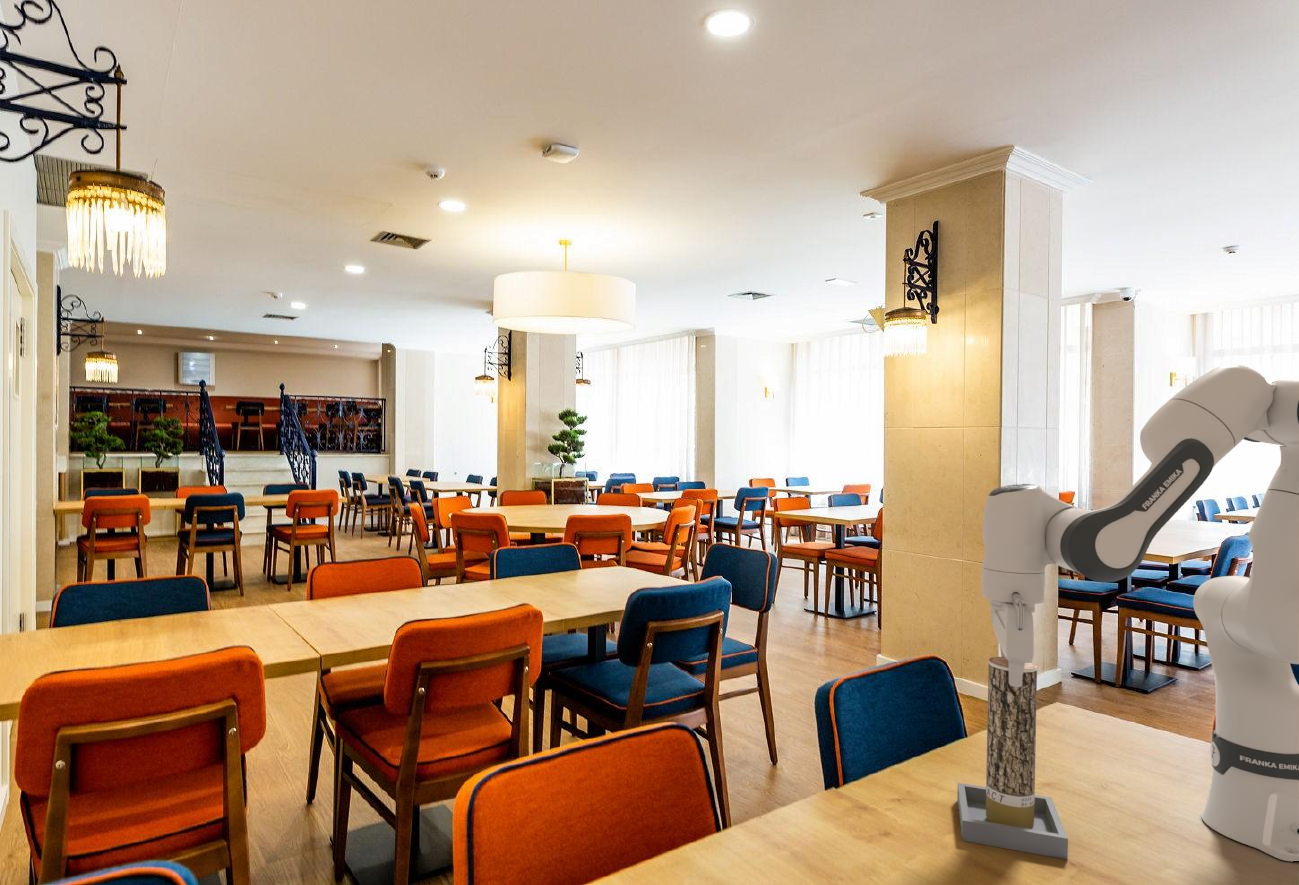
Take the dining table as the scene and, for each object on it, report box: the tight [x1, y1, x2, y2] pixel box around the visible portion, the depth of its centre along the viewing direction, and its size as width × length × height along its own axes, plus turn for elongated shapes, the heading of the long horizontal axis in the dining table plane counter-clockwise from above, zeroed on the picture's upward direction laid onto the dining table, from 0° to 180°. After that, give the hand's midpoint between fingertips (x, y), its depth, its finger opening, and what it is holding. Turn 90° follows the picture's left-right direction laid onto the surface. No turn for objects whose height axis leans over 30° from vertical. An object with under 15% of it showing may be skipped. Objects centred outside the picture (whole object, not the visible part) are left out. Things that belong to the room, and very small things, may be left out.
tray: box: [956, 782, 1069, 861], centre depth 117 cm, size 14×14×3 cm
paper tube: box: [985, 656, 1038, 829], centre depth 117 cm, size 7×7×25 cm
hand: (1011, 676), depth 117 cm, fingers open, 8 cm apart
